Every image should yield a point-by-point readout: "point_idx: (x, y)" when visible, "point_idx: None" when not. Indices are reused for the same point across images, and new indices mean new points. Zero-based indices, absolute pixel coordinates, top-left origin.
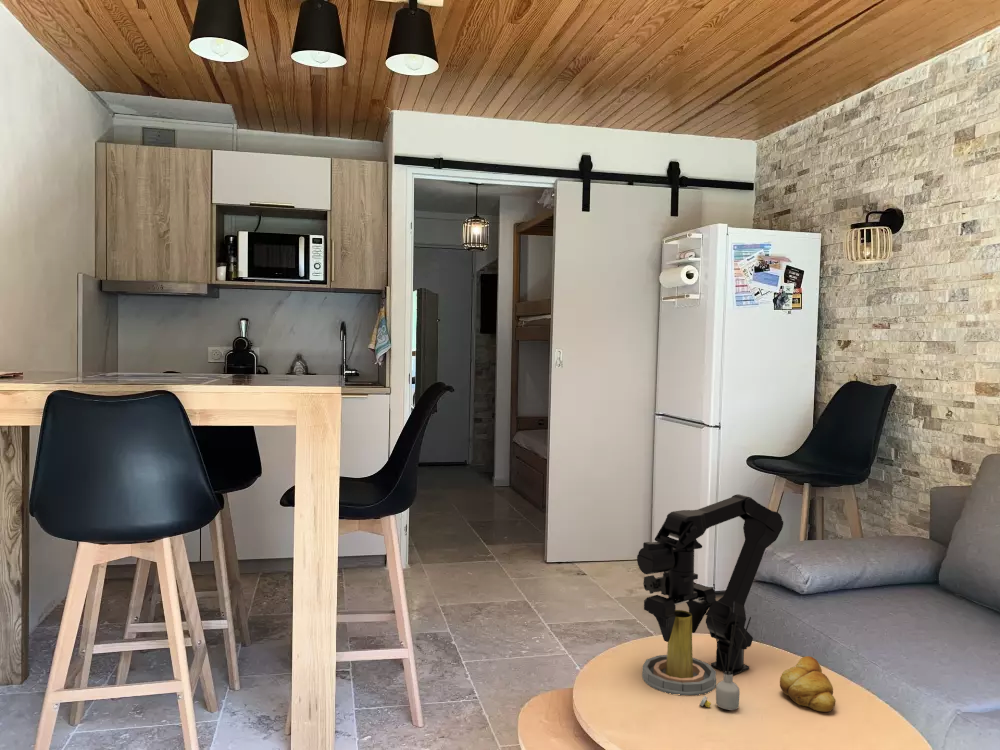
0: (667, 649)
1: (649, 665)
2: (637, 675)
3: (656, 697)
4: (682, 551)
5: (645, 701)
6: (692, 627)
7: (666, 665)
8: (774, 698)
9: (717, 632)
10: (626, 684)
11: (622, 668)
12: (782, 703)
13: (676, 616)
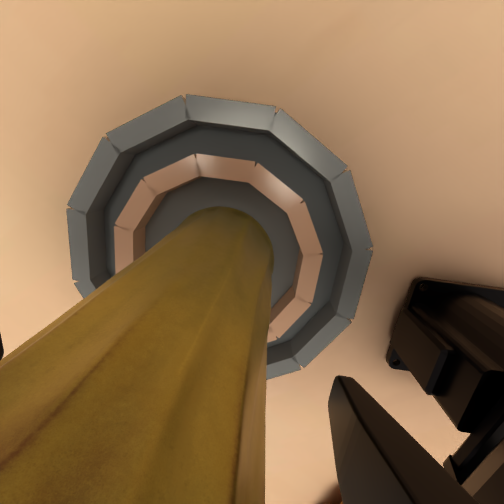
0: (145, 253)
1: (177, 129)
2: (123, 115)
3: (52, 271)
4: None
5: (2, 262)
6: (343, 433)
7: (181, 224)
8: (314, 475)
9: (501, 467)
10: (27, 136)
11: (121, 9)
12: (301, 492)
13: (149, 486)
